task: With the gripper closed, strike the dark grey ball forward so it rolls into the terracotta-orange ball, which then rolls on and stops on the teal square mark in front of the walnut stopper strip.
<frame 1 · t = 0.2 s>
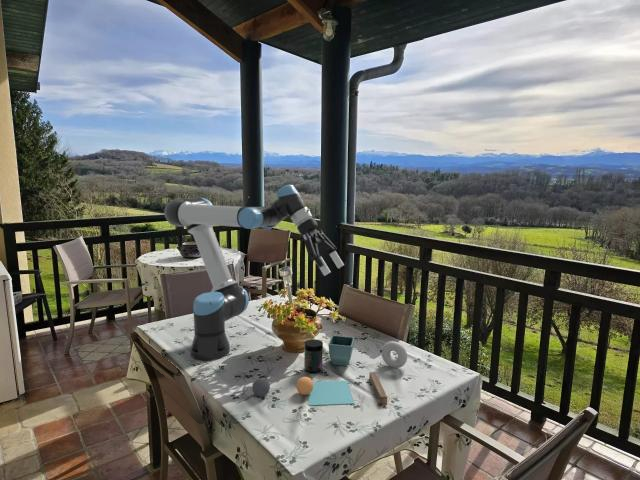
hand: (334, 270, 144), 36 cm above the table, tool tilted 35°, fingers open, 13 cm apart
supplement container: (313, 370, 142), on the table
stopper strip: (377, 390, 128), on the table
donut: (393, 367, 145), on the table
teal mark: (329, 392, 127), on the table
flower pot: (341, 363, 148), on the table
dark grey ball: (261, 387, 124), on the table
object ball: (304, 385, 126), on the table
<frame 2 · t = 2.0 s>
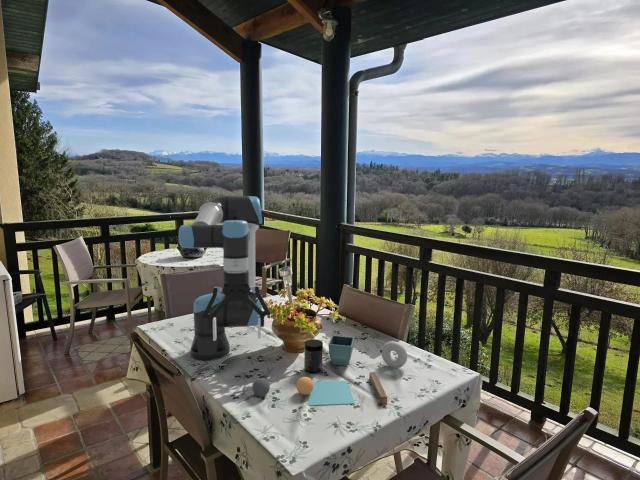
hand: (237, 338, 121), 19 cm above the table, tool pointing down, fingers open, 13 cm apart
nothing on the table moved.
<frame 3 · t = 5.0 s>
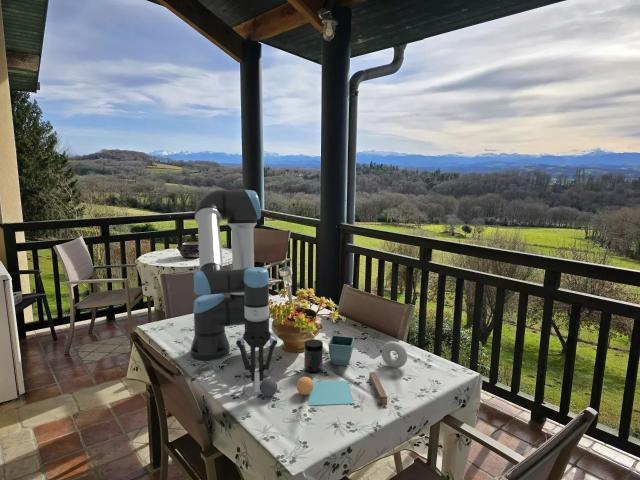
hand: (257, 389, 123), 2 cm above the table, tool pointing down, fingers closed
dark grey ball: (268, 387, 124), on the table
everything else where it was.
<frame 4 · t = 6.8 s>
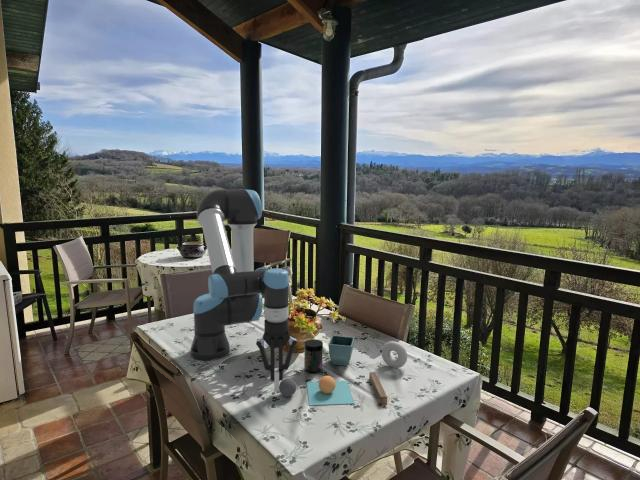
hand: (276, 389, 125), 2 cm above the table, tool pointing down, fingers closed
dark grey ball: (287, 387, 125), on the table, touching gripper
object ball: (327, 384, 126), on the table
everything else where it was.
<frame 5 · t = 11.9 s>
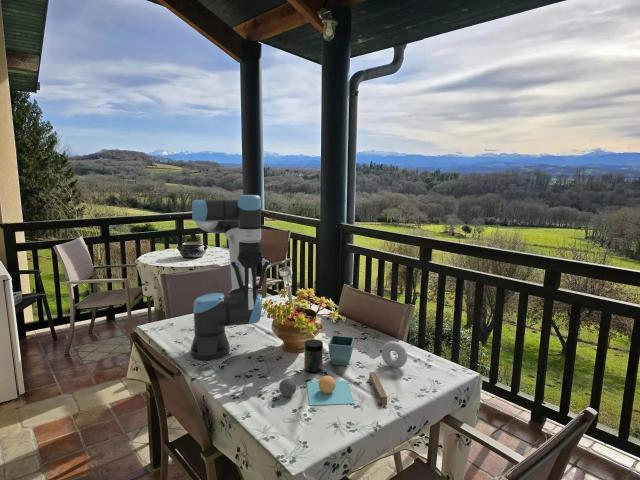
hand: (251, 308, 135), 24 cm above the table, tool pointing down, fingers closed
dark grey ball: (287, 387, 125), on the table
everything else where it was.
at the end: object ball 0.8 cm from the teal mark (horizontally); object ball never touched the robot; dark grey ball first touched object ball at 5.3 s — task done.
